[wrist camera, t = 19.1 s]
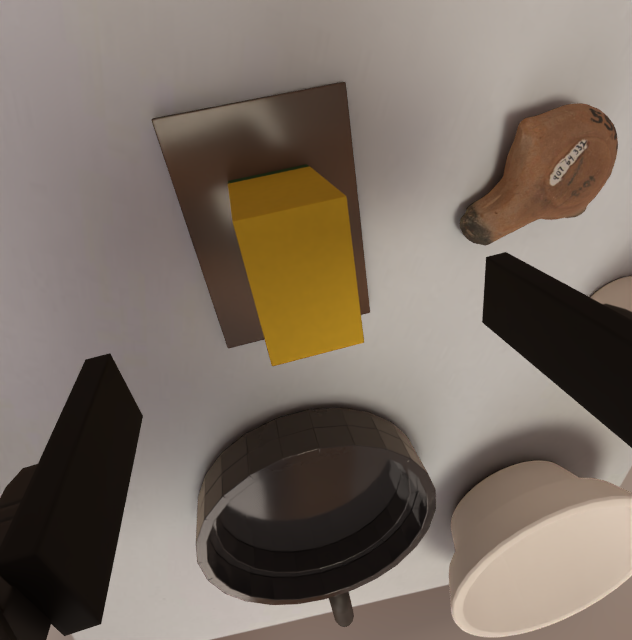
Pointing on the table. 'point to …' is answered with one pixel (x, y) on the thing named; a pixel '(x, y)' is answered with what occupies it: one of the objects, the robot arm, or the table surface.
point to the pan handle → (342, 609)
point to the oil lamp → (546, 172)
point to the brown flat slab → (247, 160)
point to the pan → (311, 507)
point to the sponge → (298, 261)
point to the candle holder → (616, 293)
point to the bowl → (536, 548)
